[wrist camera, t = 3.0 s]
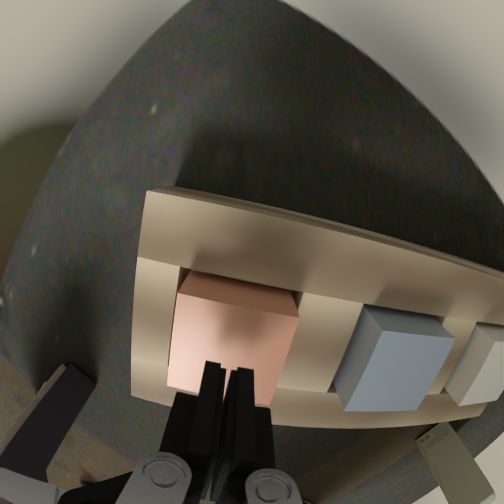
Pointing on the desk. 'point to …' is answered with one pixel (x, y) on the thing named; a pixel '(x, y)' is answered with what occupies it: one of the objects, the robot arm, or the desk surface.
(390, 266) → the key console
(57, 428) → the calculator
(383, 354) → the slate key
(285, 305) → the terracotta key
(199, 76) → the desk surface
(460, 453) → the skincare box
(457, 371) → the offwhite key
